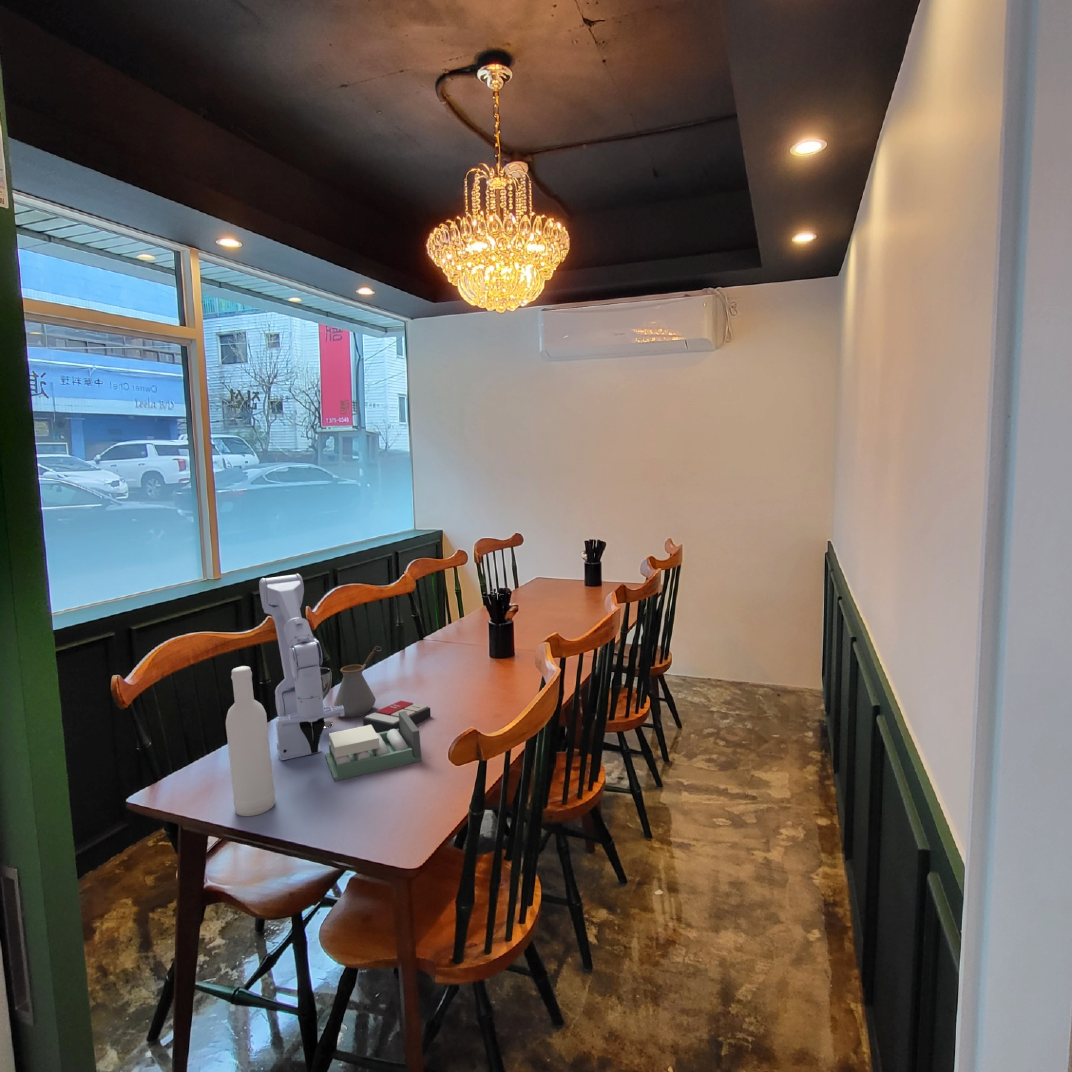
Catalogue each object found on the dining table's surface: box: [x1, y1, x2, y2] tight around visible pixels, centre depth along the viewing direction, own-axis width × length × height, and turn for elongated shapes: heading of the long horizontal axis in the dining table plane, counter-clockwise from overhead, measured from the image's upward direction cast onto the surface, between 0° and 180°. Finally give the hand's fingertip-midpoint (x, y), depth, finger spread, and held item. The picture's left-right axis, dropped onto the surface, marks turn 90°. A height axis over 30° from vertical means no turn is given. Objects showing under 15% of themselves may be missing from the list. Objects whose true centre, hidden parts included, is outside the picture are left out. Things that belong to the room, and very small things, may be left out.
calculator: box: [362, 700, 431, 733], centre depth 182 cm, size 11×4×15 cm
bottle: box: [225, 665, 276, 817], centre depth 139 cm, size 8×8×30 cm
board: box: [328, 725, 380, 758], centre depth 159 cm, size 10×9×2 cm
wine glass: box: [320, 666, 334, 730], centre depth 182 cm, size 8×8×15 cm
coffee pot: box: [333, 645, 383, 718], centre depth 195 cm, size 21×12×15 cm, turn 164°
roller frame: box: [324, 711, 422, 782], centre depth 161 cm, size 20×14×7 cm
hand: (314, 751), depth 155 cm, fingers closed
